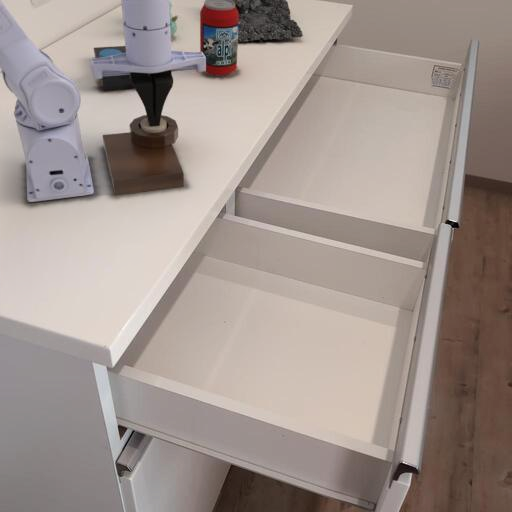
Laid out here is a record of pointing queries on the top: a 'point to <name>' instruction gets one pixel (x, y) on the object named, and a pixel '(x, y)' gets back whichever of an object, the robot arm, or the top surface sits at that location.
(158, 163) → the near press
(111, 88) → the far press
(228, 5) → the beverage can
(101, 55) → the far button
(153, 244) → the top surface
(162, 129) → the near button
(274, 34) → the ground
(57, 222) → the top surface
